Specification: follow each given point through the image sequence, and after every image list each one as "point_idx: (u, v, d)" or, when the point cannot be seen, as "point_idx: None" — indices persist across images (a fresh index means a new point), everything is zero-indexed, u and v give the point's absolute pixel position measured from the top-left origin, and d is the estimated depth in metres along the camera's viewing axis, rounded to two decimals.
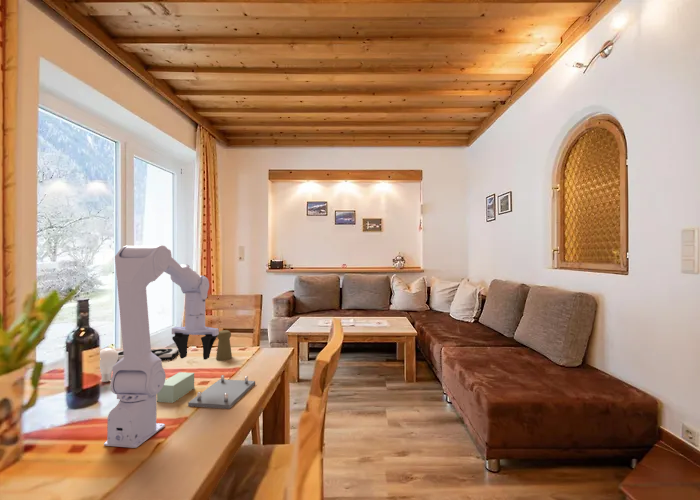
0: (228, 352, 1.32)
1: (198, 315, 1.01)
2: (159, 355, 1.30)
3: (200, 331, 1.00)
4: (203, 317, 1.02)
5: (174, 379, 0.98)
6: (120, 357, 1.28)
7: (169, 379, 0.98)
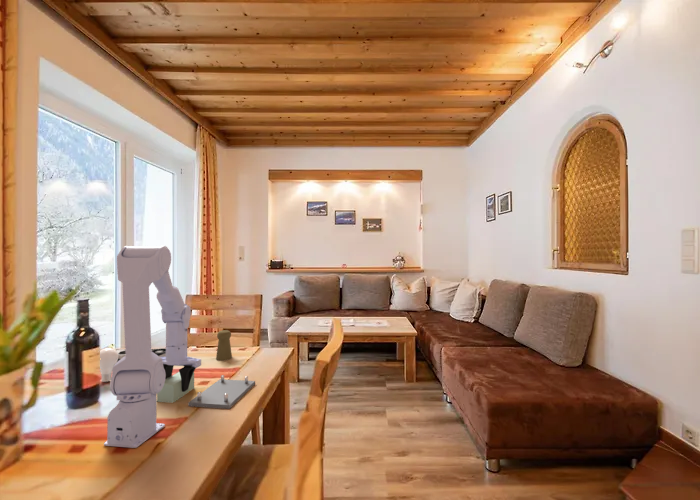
0: (228, 352, 1.32)
1: (179, 346, 0.97)
2: (160, 355, 1.31)
3: (181, 363, 0.96)
4: (185, 347, 0.98)
5: (174, 378, 0.98)
6: (121, 356, 1.28)
7: (169, 378, 0.98)
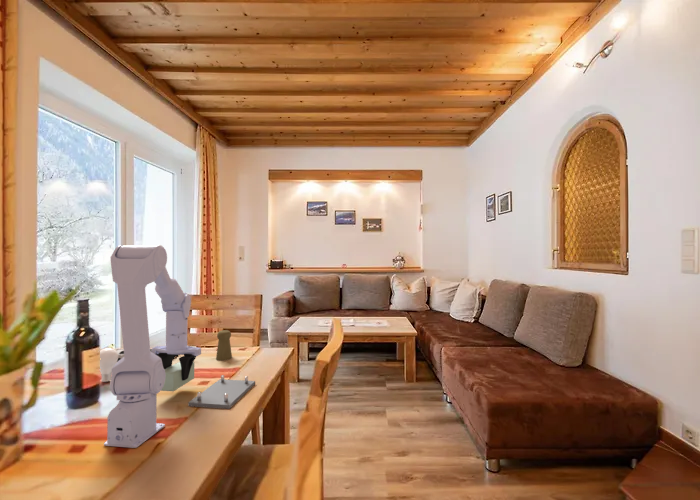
0: (228, 352, 1.32)
1: (179, 334, 0.97)
2: None
3: (181, 351, 0.96)
4: (185, 336, 0.98)
5: (174, 368, 0.98)
6: (122, 356, 1.29)
7: (169, 368, 0.98)
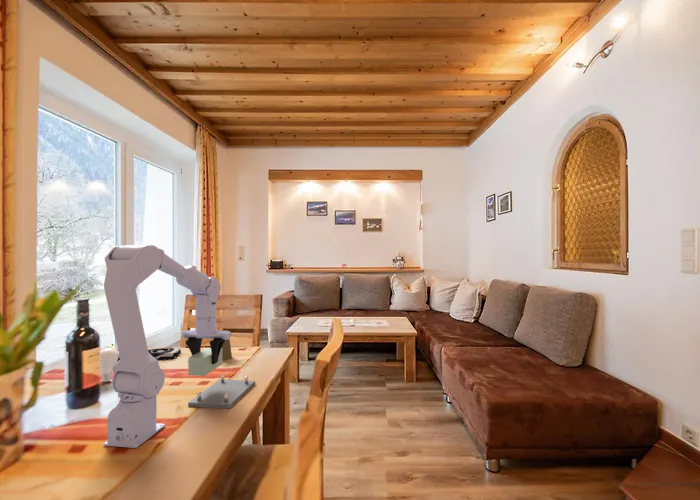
0: (228, 352, 1.32)
1: (209, 318, 0.97)
2: (160, 354, 1.31)
3: (212, 335, 0.97)
4: (214, 320, 0.99)
5: (204, 353, 0.99)
6: None
7: (199, 353, 0.99)
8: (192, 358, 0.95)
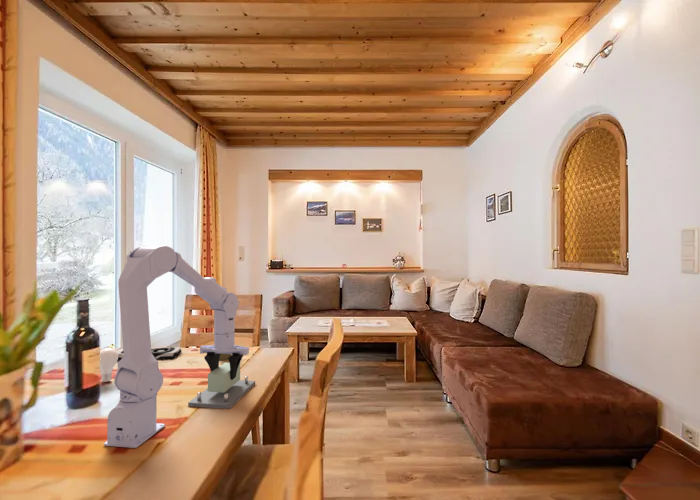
0: None
1: (228, 334, 0.97)
2: (161, 354, 1.31)
3: (230, 350, 0.97)
4: (233, 335, 0.99)
5: (223, 369, 0.99)
6: (123, 355, 1.30)
7: (218, 369, 0.99)
8: (211, 375, 0.95)
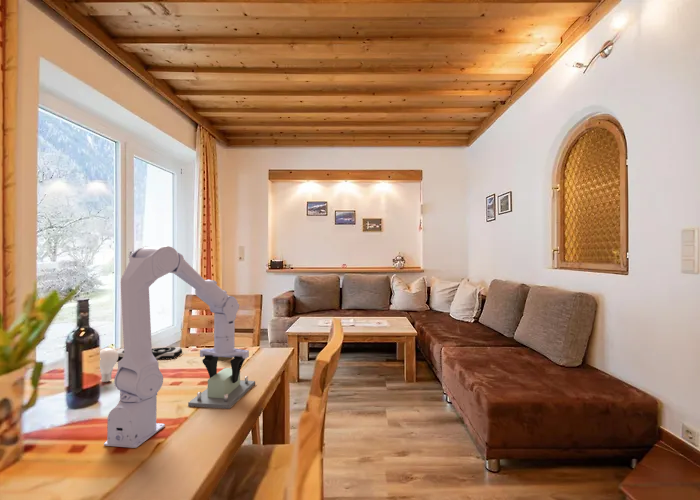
0: None
1: (228, 337, 0.97)
2: (162, 353, 1.32)
3: (230, 354, 0.97)
4: (233, 339, 0.99)
5: (223, 374, 0.99)
6: None
7: (217, 374, 0.99)
8: (211, 380, 0.95)
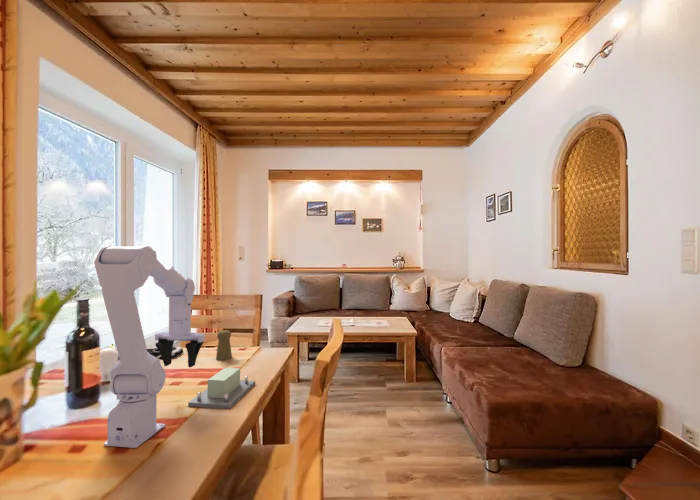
0: (228, 352, 1.32)
1: (183, 320, 0.95)
2: None
3: (185, 337, 0.94)
4: (188, 322, 0.96)
5: (223, 374, 0.99)
6: None
7: (217, 374, 0.99)
8: (211, 380, 0.95)
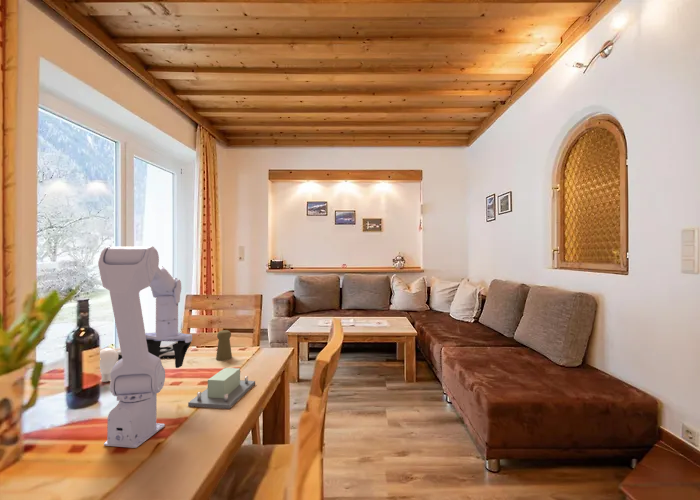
0: (228, 352, 1.32)
1: (169, 320, 0.94)
2: (163, 353, 1.33)
3: (172, 338, 0.94)
4: (175, 322, 0.96)
5: (223, 374, 0.99)
6: None
7: (217, 374, 0.99)
8: (211, 380, 0.95)
